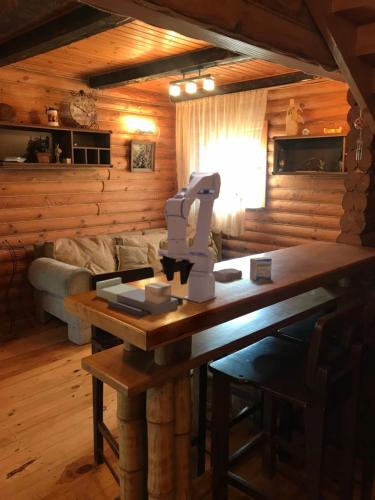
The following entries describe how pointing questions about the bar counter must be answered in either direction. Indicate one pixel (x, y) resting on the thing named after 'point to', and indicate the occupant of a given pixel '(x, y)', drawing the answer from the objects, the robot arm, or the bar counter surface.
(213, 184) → the robot arm
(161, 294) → the ash block
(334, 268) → the bar counter surface
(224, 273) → the stone block
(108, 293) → the trap causeway
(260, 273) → the medicine box
